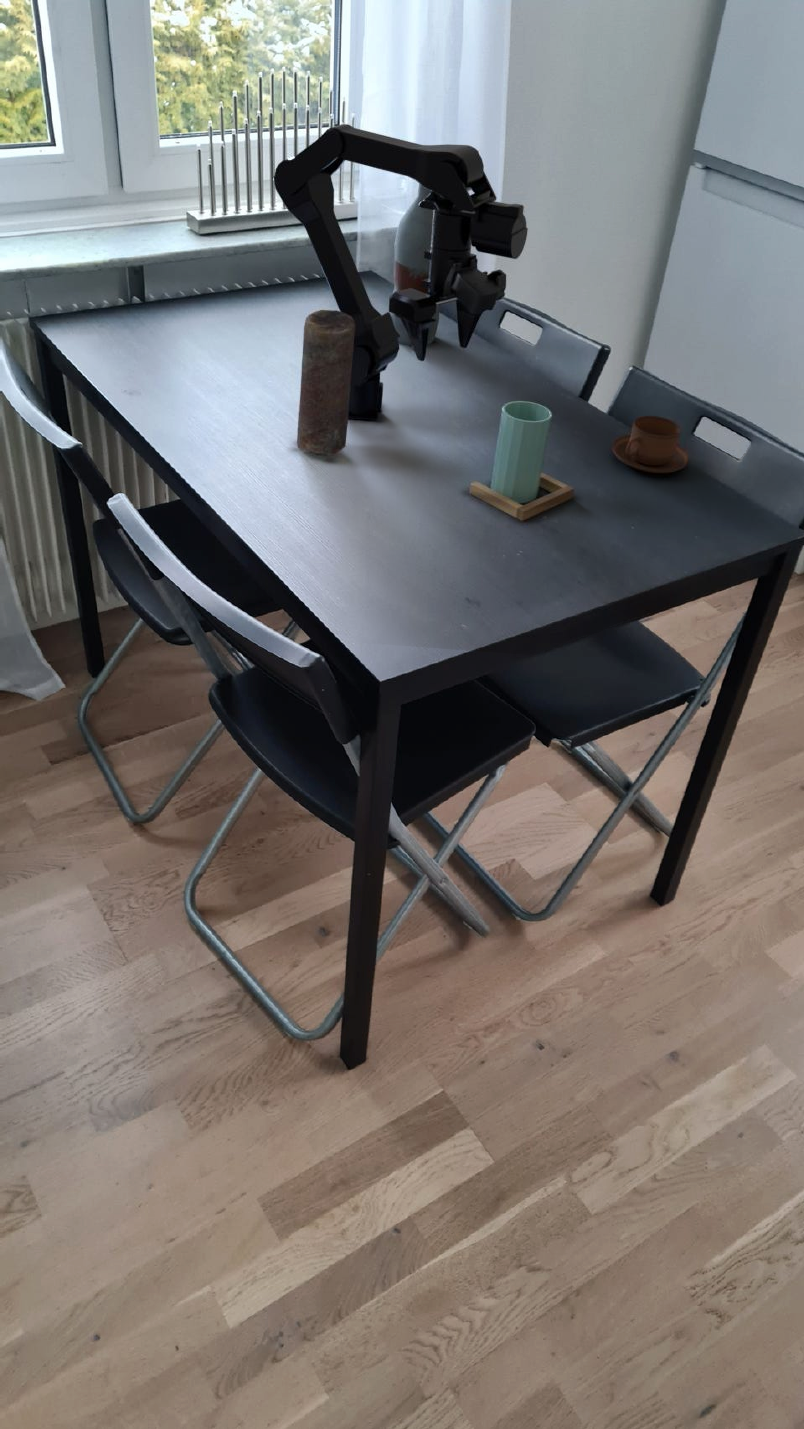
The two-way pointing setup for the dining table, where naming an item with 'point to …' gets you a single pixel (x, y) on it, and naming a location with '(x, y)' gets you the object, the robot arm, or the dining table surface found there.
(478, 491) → the frame
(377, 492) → the dining table surface
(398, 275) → the bottle
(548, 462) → the dining table surface
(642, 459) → the cup and saucer
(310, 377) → the brown textured cylinder
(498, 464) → the glass
